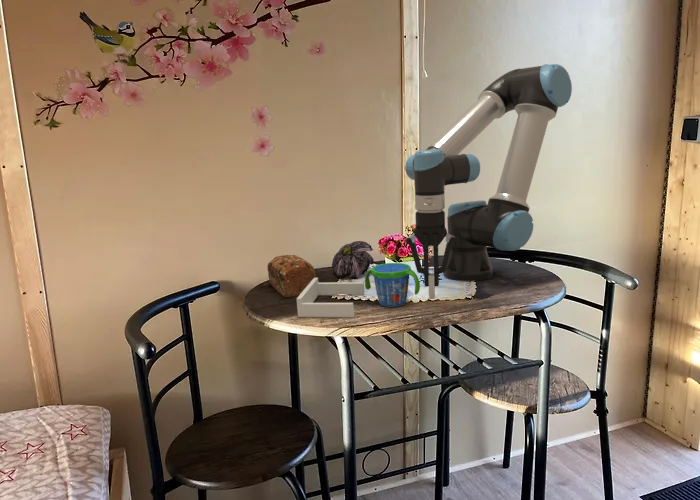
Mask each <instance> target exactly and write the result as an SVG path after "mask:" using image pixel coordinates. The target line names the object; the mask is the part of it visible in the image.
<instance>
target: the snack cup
mask: <svg viewBox="0 0 700 500" xmlns="http://www.w3.org/2000/svg"><path fill="white" fill-rule="evenodd" d="M365 273H366V274H365V277H364V288H365V289H366V290H371V287H372V285H371V282H370V275H372V277H373V281H374V285H375V290H376V296H377V301H378V302H379V304H380V305H381V307H387V308H389V307H390V308H391V307H392V308H395V307H401V306H403V305H406V303H407V300H408V292H409V284H410V283H409V282H410V276H411V277H412V278H413V281H414V284H415V285H414V295H418V294H419V292H420V288H421V285H420V280H419V277H418V275H417V273H416V272H415V271H414V270H413V269H412V268H411V266H410V265H409V264H407V263H401V262H388V263H381V264H377V265H374V266H372V268H369V269H368V270H367V272H365Z"/></svg>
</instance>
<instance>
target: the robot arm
mask: <svg viewBox="0 0 700 500" xmlns="http://www.w3.org/2000/svg"><path fill="white" fill-rule="evenodd" d="M572 86H573V84H572V79H571V76H570V74H569V71H567V69H566V68H565V67H564V66H562V65H560V64H558V63H554V64H553V63H552V64H548V63H547V64H545V63H544V64H542V65H537V66H530V67H523V68H515V69H513V70H510V71H507V72H506V73H504V74H503V75H500V76H499V77H498V78H497V79H495V80H494V81H492V83H490V84H489V85H488V86H487V87H486V88H484V90H482V91H481V92H480V93H479V94H478V97H477V101H475V102H474V103H473V105H471V106H470V108H468V109H467V110H466V111H465V112H464V113H463V114H462V115H461V116H460V117H459V118H458V119H457V120H456V121H455V122H453V124H451V125H450V126H449V127H448V128H447V129H446V130H445V131H444V132H443V133H442V134H441V135H440V136H439V137H438V138H437V139H436V140H435V141H433V143H431V144H430V145H429V146H428V147H427V148H426V149H421V150H420V149H419V150H417V151H415V153H414V154H411V155H410V156H409V157H408V158H407V160H406V161H405V164H404V165H405V166H404V167H405V168H404V169H405V173H406V175H407V177H408V178H409V179H411V180H412V181H414V203H415V204H414V207H415V208H414V209H415V210H416V212H414V213H415V229H414V232H413V234H411V235H410V236H407V237H406V240H405V242H406V243H407V245H408V246H409V248H410V251H411V254H412V258H413V260H414V264H415V268H416V271H417V273H418V274H423V278H424V281H423V282H424V287H428V299H429V300H436V287H439V285H440V274H442V276H443V277H444V278H446V279H449V280H451V281H460V282H474V281H475V282H476V281H477V282H478V281H484V280H487V279H489V278H492V276H493V266H492V263H491V260H490V257H489V254H488V250H487V248H492V249H496V250H499V251H508V252H509V251H510V252H513V251H518V250H520V249H522V247H524V246H525V245H526V244H527V243H528V241H530V239H531V237H532V235H533V231H534V222H533V221H534V220H533V216H532V215H531V213H529V212H530V206H529V204H528V203H527V199H528V195H529V191H530V188H531V185H532V182H533V181H532V180H533V178H534V174H535V171H536V167H537V164H538V160H539V157H540V152H541V149H542V146H543V141H544V138H545V135H546V132H547V127H548V124H549V122H550V121H552V120H553V119H554V118H556V115H557V113H558V111H559V108H562V107H564V106H565V105H567V104H568V103H569V101H570V99H571V96H572V91H573V87H572ZM511 111H515V113H516V114H517V118H516V121H515V125H514V130H513V133H512V136H511V139H510V142H509V143H510V144H509V146H508V150H507V155H506V157H505V161H504V164H503V168H502V172H501V175H500V179H499V182H498V185H497V190H496V193H495V194H494V195H492V196H491V197H488V201H486V200H472V201H471V200H470V201H464V202H456V203H451V204H450V205H449V206H448V209H447V217H446V213H445V211H444V209H445V208H446V207H445V205H446V203H445V201H446V200H445V198H446V197H445V186H448V185H457V184H467V183H470V182H471V183H472V182H474V181H476V180H477V179H478V177H479V176H480V173H481V163H480V160H479V158H478V157H477V156H476V155H474V154H472V153H461V152H462V151H464V150H465V149H466V148H467V147H468V146H469V145H470V144H471V143H472V142H473V141H474V140H475V139H476V138H477V137H478V136H479V135H480V134H481V133H482V132H483V131H484V130H485V129H486V128H488V126H489V125H490V124H491V123H493V121H494V120H497V119H501V118H502V117H503V116H504V115H505V114H506V113H509V112H511ZM460 153H461V154H460ZM446 218H447V219H446ZM446 220H447V221H446ZM446 223H447V228H446ZM416 239H417V241H418V242H419V243H420V244H421V246H422V248H423V267H422V263H421V261H420V260H421V259H420V255H419V253H418V249H417V246H416ZM444 239H445V242H446V245H445V249H444V253H443V257H442V262H441V265H440V266H439V245H440V244H441V243H442V242H443V240H444ZM430 246H431V247H432V249H433V250H432V252H433V272H430V269H429V268H430V264H429V263H430V262H429V261H430V260H429V257H430V256H429V255H430V254H429V247H430Z"/></svg>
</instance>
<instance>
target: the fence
mask: <svg viewBox="0 0 700 500" xmlns="http://www.w3.org/2000/svg"><path fill="white" fill-rule="evenodd" d="M338 294H352V295H351V296H365V281H364V282H363V281H362V282H361V281H359V282H353V281H352V282H351V281H350V282H346V281H345V282H343V281H342V282H341V281H340V282H338V281H337V282H319V277H315V278H313V280H312V281H311V282H310V283H309V284H308V286H307V287H306V288H305V289H304V290H303V292H302V293H301V294H300V295H299V296H297V297H296V308H297V317H298V318H354V317H355V307H354V302H315V300H316V299H317V297H319V296H339V295H338Z"/></svg>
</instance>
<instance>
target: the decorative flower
mask: <svg viewBox="0 0 700 500" xmlns="http://www.w3.org/2000/svg"><path fill="white" fill-rule="evenodd" d="M371 251H374V249H373V247H372V245H370V243H368V242H366V241H363V240H359V241H358V240H357V241H353V242H350V243H347V244H346V243H345V244H344V245H342V246H341V247H340V249H339V250H338V251H337V252H336V253H335V255H334V256H333V259H332V261H331V268H332V271H333V274H334V275H335V276H337V279H341V280H342V279H344V278H349V279H350V280H351V279H357V280H358V279H359V277H360V274H361V275H363V276H364V275H365V273H367V272H368V271H369V270H370V268H369V267H370V265H374V258H373V256H372V255H371V254H370V253H369V252H371Z"/></svg>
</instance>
